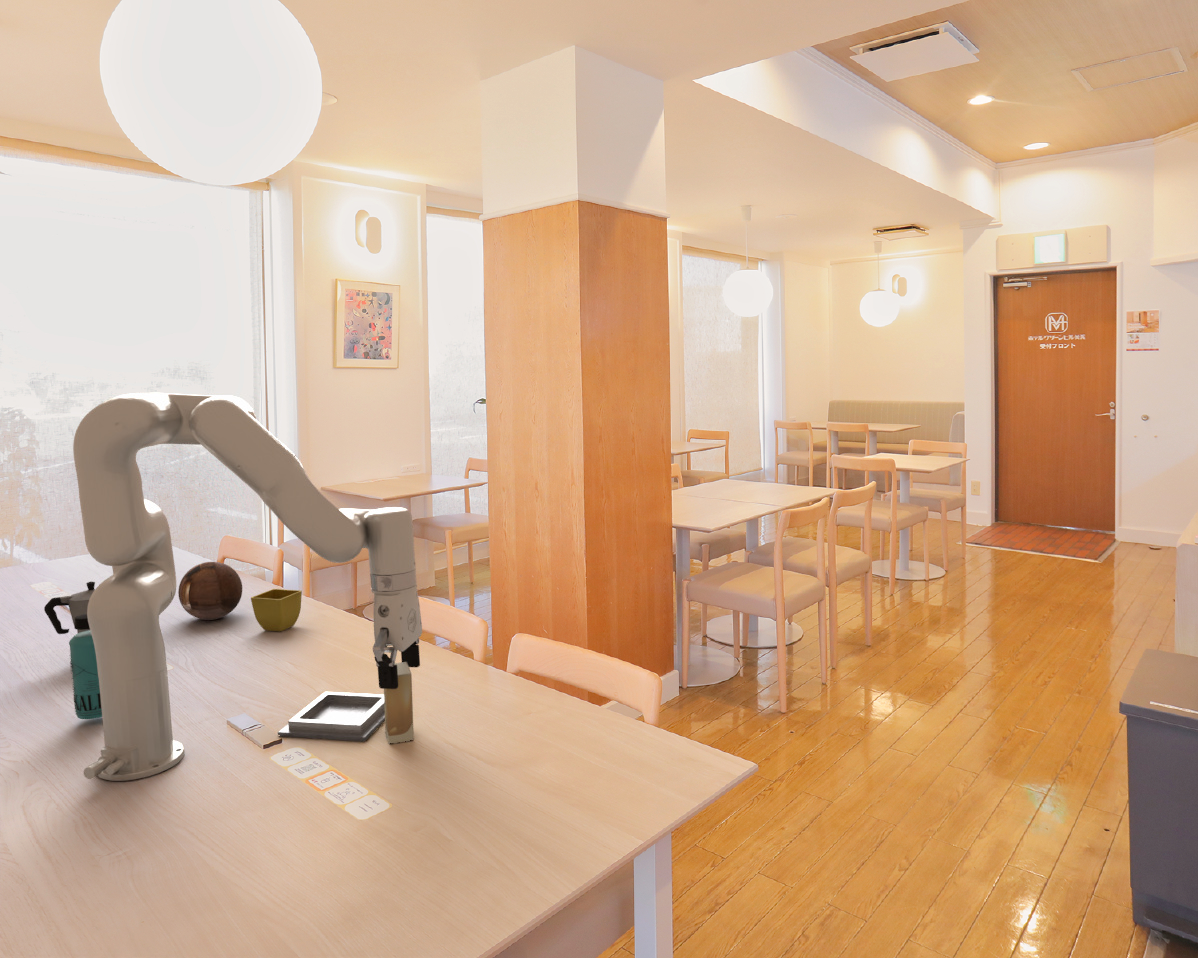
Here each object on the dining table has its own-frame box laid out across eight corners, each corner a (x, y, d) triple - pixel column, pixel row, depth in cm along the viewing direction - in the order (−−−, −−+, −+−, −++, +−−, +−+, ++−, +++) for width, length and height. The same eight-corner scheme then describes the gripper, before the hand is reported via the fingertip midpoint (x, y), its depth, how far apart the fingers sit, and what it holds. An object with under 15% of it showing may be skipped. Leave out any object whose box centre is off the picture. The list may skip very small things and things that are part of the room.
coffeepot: (127, 648, 187) (121, 573, 185) (135, 659, 180) (128, 580, 178) (48, 663, 177) (40, 584, 175) (52, 675, 170) (44, 593, 168)
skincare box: (384, 730, 142) (381, 663, 141) (409, 726, 144) (406, 660, 142) (388, 745, 136) (385, 676, 135) (414, 741, 138) (411, 672, 136)
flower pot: (251, 632, 198) (249, 597, 197) (275, 622, 206) (273, 588, 205) (281, 635, 195) (279, 599, 194) (304, 624, 204) (302, 590, 203)
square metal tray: (364, 741, 138) (364, 728, 137) (278, 736, 140) (277, 723, 140) (401, 704, 153) (400, 692, 153) (322, 700, 156) (322, 688, 155)
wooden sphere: (234, 606, 220) (231, 553, 219) (251, 619, 209) (247, 562, 207) (174, 617, 211) (170, 561, 209) (188, 631, 200) (184, 572, 198)
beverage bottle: (109, 709, 152) (99, 607, 150) (123, 719, 148) (114, 613, 145) (70, 721, 147) (59, 615, 145) (83, 731, 143) (73, 622, 140)
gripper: (394, 594, 127) (401, 697, 130) (432, 568, 144) (438, 659, 147) (349, 594, 128) (357, 696, 131) (393, 568, 145) (399, 658, 148)
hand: (400, 676), depth 139 cm, fingers open, 9 cm apart
